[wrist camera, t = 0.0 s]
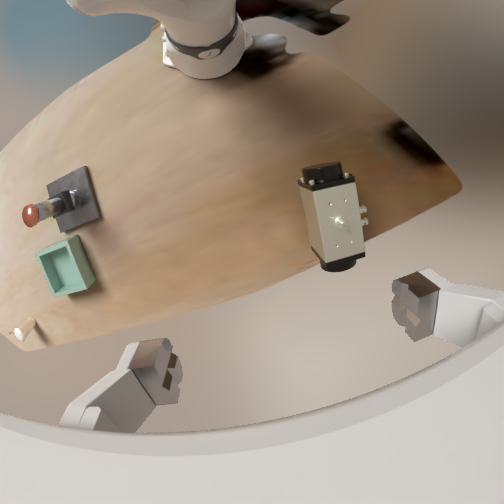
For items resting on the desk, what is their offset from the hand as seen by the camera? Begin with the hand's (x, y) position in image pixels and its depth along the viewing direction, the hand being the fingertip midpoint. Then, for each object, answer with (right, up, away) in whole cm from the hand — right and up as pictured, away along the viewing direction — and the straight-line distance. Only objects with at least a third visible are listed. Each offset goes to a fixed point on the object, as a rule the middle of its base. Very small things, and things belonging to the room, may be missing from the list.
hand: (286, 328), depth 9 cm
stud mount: (-42, +15, +43) cm, 62 cm away
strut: (-42, +13, +39) cm, 59 cm away
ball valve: (+12, +13, +48) cm, 51 cm away
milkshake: (-69, -19, +53) cm, 89 cm away
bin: (-46, 0, +48) cm, 67 cm away
